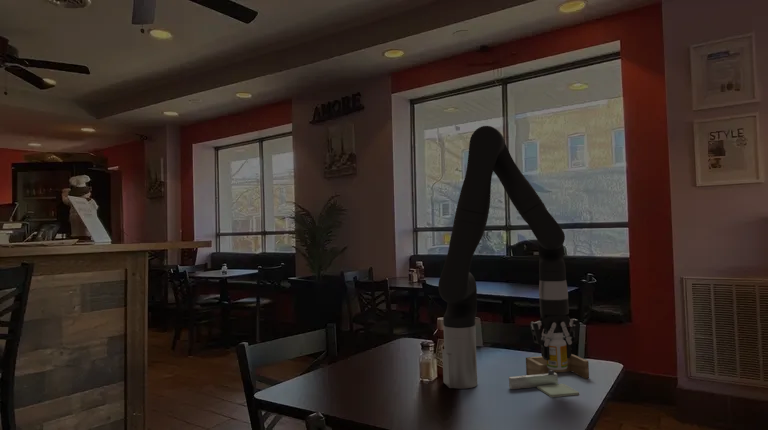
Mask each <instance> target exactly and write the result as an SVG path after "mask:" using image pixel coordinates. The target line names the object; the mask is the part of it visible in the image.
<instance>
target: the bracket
mask: <svg viewBox="0 0 768 430" xmlns="http://www.w3.org/2000/svg"><path fill="white" fill-rule="evenodd" d="M589 364H590V363H589V360H587V359H585V358H582V357H581V356H578V355H575V354H573V353H571V356H570V358H567V369H564V370H554V373H556V374H557V373H565V372H572V373H573V374H576V375H578V376H580V377H582V378H583V379H589V378H590V368H589ZM525 368H526V369H525V371H526V372H525V373H526V375H536V374H547V373H548V370H553V369H549V368H548V367H547V360H545V359H544V358H543V357H542V355H540V356H528V357H525Z"/></svg>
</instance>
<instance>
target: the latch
mask: <svg viewBox="0 0 768 430" xmlns="http://www.w3.org/2000/svg"><path fill="white" fill-rule="evenodd" d="M558 378H559V377H558V373H557V372H556V373H554V370H548V373H545V374H536V375H527V374H526V375H517V376H508V382H509V383H508V384H509V385H508V386H509V389H511V390H519V389H528V388H529V389H531V388H537V386H544V385H554V384H559V380H558Z"/></svg>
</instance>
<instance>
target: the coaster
mask: <svg viewBox="0 0 768 430" xmlns="http://www.w3.org/2000/svg"><path fill="white" fill-rule="evenodd" d="M536 388H537V390H539V391H541V392H542V393H544V394H546V395H547V396H549V397H550V398H559V397H568V396H569V397H570V396H579V395H580V392H579V391H578V390H576V389H574V388H572V387H571V386H569V385H566V384H565V383H558V384H554V385H544V386H537V387H536Z"/></svg>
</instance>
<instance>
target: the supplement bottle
mask: <svg viewBox="0 0 768 430" xmlns="http://www.w3.org/2000/svg"><path fill="white" fill-rule="evenodd" d="M562 338H563V332H561V333H553V335H552V338H551V339H550V341H549V344H548V347H549V360H547V367H548V368H549V369H553V370H564V369H567V346H566V341H565V340H563V339H562Z"/></svg>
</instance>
